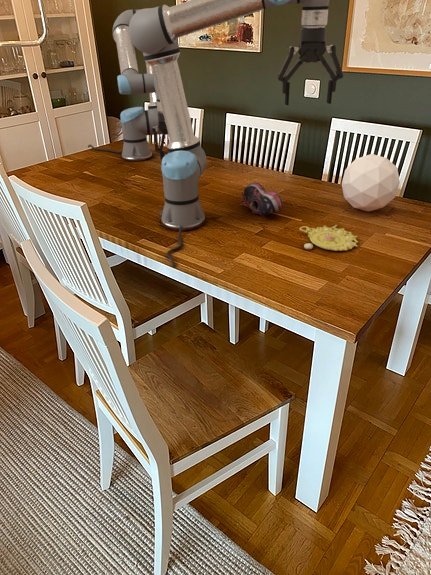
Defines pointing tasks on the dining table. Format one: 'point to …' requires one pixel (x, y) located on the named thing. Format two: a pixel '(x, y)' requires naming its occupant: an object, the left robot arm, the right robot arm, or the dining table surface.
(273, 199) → the athletic shoe
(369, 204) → the sphere
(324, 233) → the decorative object
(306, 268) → the dining table surface
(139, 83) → the left robot arm
